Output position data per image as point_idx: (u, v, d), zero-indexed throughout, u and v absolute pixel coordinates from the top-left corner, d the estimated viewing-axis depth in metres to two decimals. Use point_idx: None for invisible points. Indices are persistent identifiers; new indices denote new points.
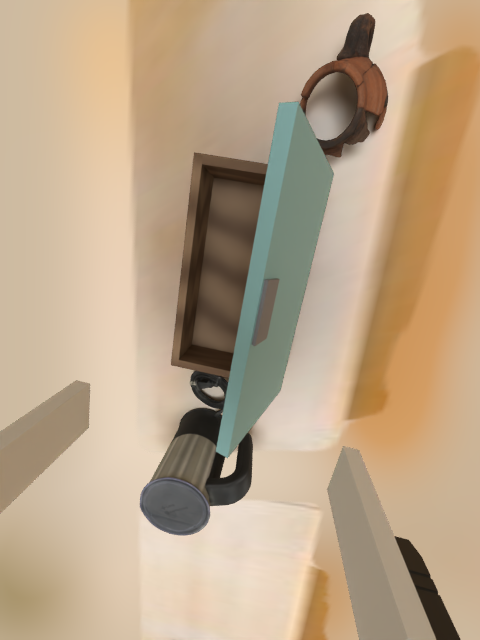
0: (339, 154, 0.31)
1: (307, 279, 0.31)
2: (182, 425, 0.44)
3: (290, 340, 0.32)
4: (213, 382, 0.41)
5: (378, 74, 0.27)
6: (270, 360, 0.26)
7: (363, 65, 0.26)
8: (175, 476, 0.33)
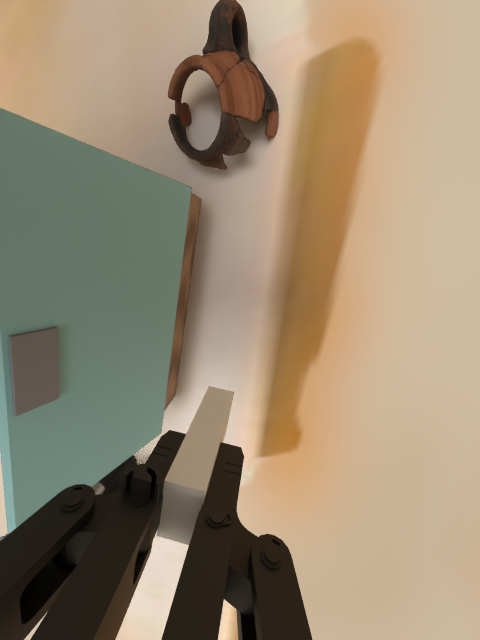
0: (222, 166, 0.26)
1: (175, 310, 0.26)
2: None
3: (160, 379, 0.27)
4: None
5: (247, 72, 0.22)
6: (103, 413, 0.22)
7: (227, 61, 0.22)
8: None
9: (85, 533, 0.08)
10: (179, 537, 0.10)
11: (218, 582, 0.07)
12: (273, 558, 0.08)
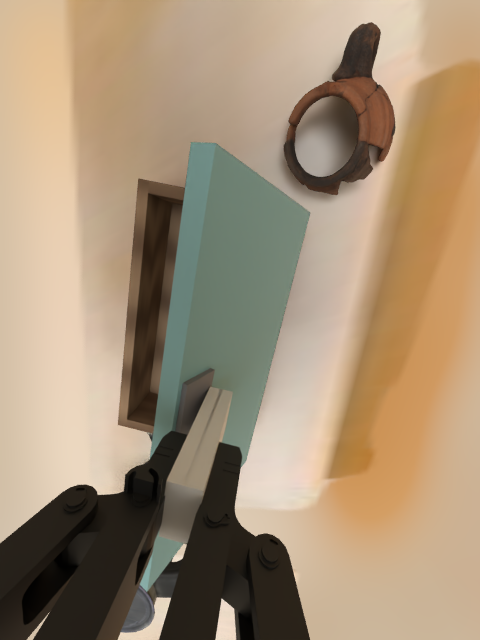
0: (335, 192, 0.25)
1: (277, 336, 0.25)
2: None
3: (256, 407, 0.26)
4: None
5: (384, 99, 0.21)
6: None
7: (366, 88, 0.21)
8: None
9: (87, 534, 0.08)
10: (178, 536, 0.10)
11: (216, 581, 0.07)
12: (271, 557, 0.08)
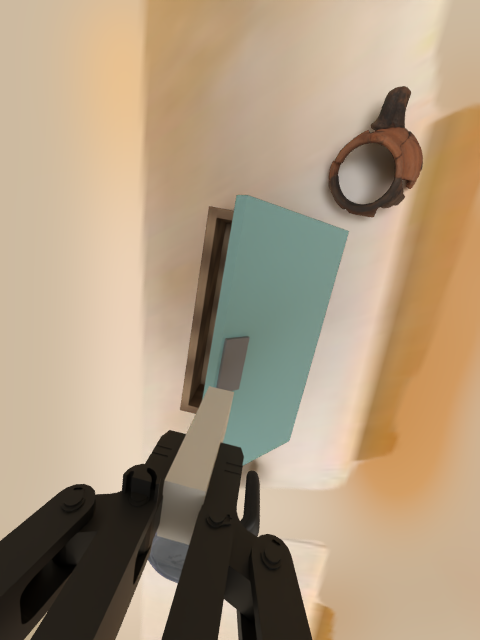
0: (372, 215, 0.31)
1: (319, 333, 0.30)
2: None
3: (297, 391, 0.32)
4: None
5: (415, 144, 0.27)
6: (257, 409, 0.27)
7: (400, 136, 0.26)
8: None
9: (85, 533, 0.08)
10: (179, 537, 0.10)
11: (218, 582, 0.07)
12: (273, 558, 0.08)
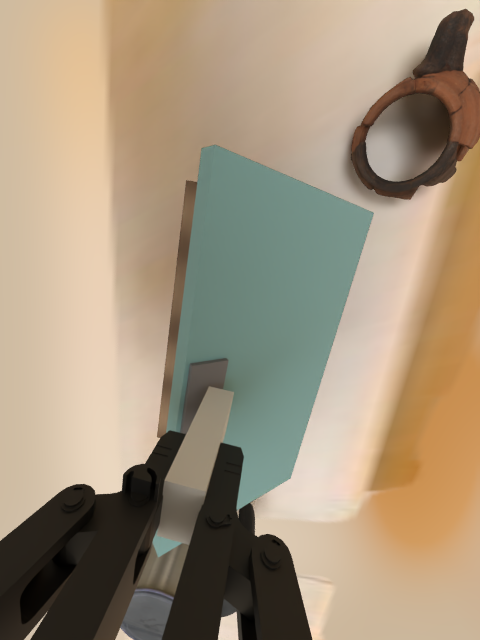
0: (410, 197, 0.23)
1: (330, 348, 0.23)
2: None
3: (301, 421, 0.25)
4: None
5: (478, 94, 0.19)
6: (245, 448, 0.21)
7: (458, 82, 0.19)
8: (157, 586, 0.26)
9: (85, 533, 0.08)
10: (180, 537, 0.10)
11: (218, 582, 0.07)
12: (273, 558, 0.08)
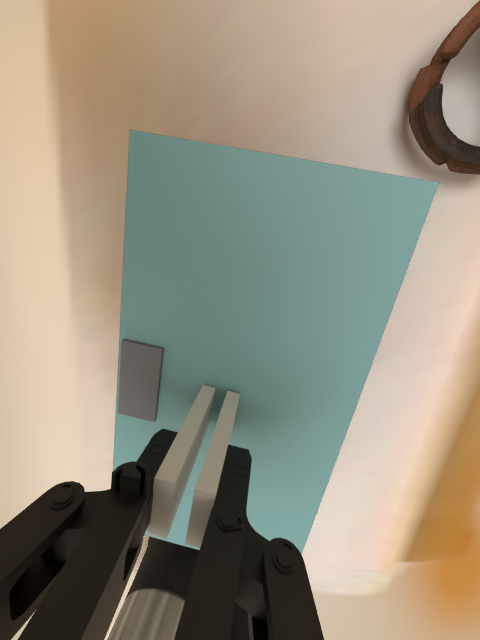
0: None
1: (354, 401, 0.15)
2: (148, 557, 0.29)
3: (303, 494, 0.17)
4: None
5: None
6: None
7: None
8: None
9: (74, 529, 0.08)
10: (189, 540, 0.10)
11: (229, 586, 0.07)
12: (285, 562, 0.08)
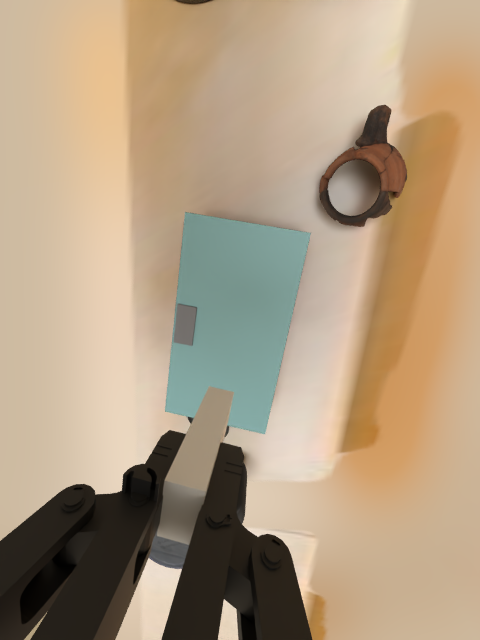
0: (362, 225, 0.33)
1: (287, 330, 0.32)
2: None
3: (266, 382, 0.34)
4: None
5: (398, 158, 0.28)
6: (216, 374, 0.34)
7: (383, 152, 0.28)
8: None
9: (85, 533, 0.08)
10: (180, 537, 0.10)
11: (218, 582, 0.07)
12: (273, 558, 0.08)
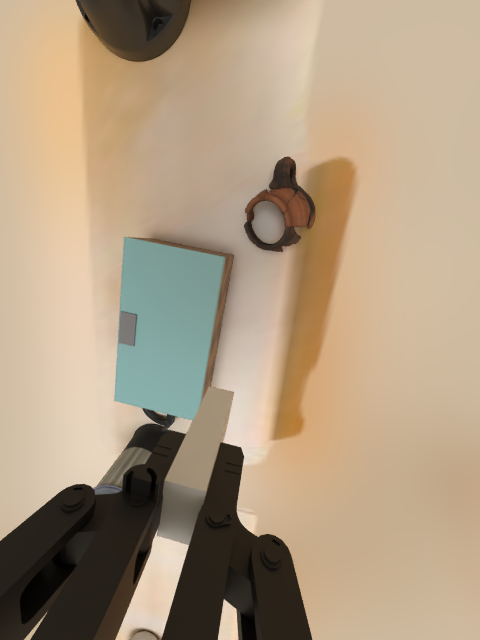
0: (280, 250, 0.39)
1: (210, 335, 0.39)
2: (132, 439, 0.52)
3: (196, 378, 0.41)
4: None
5: (300, 200, 0.35)
6: (155, 370, 0.41)
7: (287, 195, 0.35)
8: (114, 484, 0.41)
9: (85, 533, 0.08)
10: (180, 537, 0.10)
11: (218, 582, 0.07)
12: (273, 558, 0.08)
